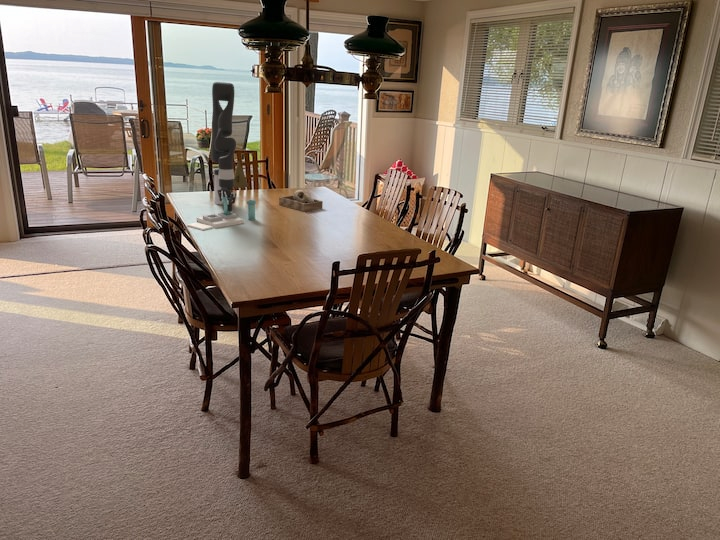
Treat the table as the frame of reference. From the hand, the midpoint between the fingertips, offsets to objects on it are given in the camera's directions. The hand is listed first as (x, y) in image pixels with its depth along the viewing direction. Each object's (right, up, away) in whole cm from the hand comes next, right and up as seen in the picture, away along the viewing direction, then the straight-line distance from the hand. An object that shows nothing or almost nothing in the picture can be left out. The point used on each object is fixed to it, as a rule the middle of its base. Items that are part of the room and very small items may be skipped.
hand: (227, 210), depth 274 cm
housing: (-3, -6, -1) cm, 7 cm away
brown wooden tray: (+33, +7, +42) cm, 54 cm away
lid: (-11, -10, -13) cm, 19 cm away
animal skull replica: (+36, +7, +42) cm, 55 cm away
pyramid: (-15, +27, +93) cm, 99 cm away
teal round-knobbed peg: (+11, -4, +8) cm, 14 cm away
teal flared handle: (0, -3, +1) cm, 3 cm away
